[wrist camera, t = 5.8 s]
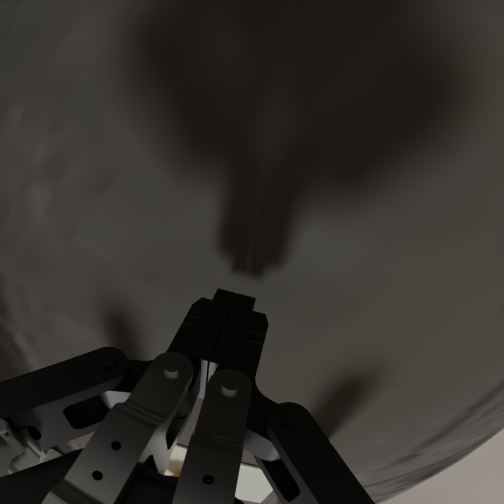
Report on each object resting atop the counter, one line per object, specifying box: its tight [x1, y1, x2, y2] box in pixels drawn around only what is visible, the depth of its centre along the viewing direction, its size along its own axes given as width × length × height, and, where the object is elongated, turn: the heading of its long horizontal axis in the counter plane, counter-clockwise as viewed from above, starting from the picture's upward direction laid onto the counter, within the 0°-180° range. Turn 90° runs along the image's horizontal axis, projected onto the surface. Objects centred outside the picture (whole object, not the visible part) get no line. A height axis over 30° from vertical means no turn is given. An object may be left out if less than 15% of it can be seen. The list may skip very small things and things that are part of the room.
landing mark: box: [164, 444, 273, 503], centre depth 28 cm, size 14×14×1 cm
